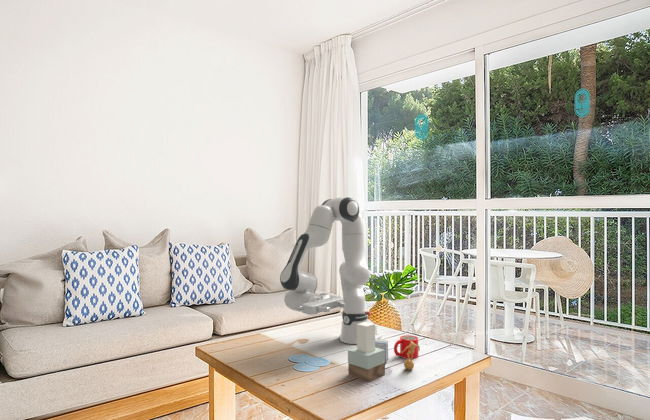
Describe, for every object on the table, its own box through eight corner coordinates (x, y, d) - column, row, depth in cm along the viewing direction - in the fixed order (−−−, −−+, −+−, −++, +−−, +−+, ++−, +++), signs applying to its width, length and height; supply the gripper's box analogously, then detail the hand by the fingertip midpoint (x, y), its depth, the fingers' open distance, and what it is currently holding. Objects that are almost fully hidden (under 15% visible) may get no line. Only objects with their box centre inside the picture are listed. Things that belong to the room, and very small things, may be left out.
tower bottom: (364, 369, 171) (364, 356, 171) (384, 375, 164) (384, 362, 164) (348, 376, 164) (348, 363, 164) (368, 383, 157) (368, 369, 157)
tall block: (365, 347, 168) (365, 321, 168) (375, 350, 164) (375, 324, 164) (356, 350, 164) (356, 324, 164) (366, 353, 161) (366, 326, 161)
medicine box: (388, 360, 181) (388, 340, 181) (386, 363, 177) (386, 342, 177) (370, 358, 183) (370, 338, 184) (367, 361, 179) (367, 341, 179)
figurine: (414, 366, 173) (414, 336, 173) (423, 371, 168) (423, 340, 168) (397, 369, 170) (397, 339, 170) (405, 374, 164) (405, 343, 165)
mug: (389, 356, 186) (388, 338, 186) (410, 351, 192) (410, 334, 192) (400, 361, 179) (400, 342, 180) (422, 356, 185) (422, 338, 185)
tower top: (364, 356, 171) (364, 344, 171) (384, 362, 164) (384, 349, 164) (347, 363, 164) (347, 350, 164) (368, 369, 157) (367, 355, 157)
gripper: (295, 300, 178) (318, 304, 169) (328, 292, 193) (351, 295, 183) (295, 315, 178) (319, 320, 169) (329, 306, 193) (352, 310, 183)
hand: (336, 307), depth 176 cm, fingers open, 8 cm apart
